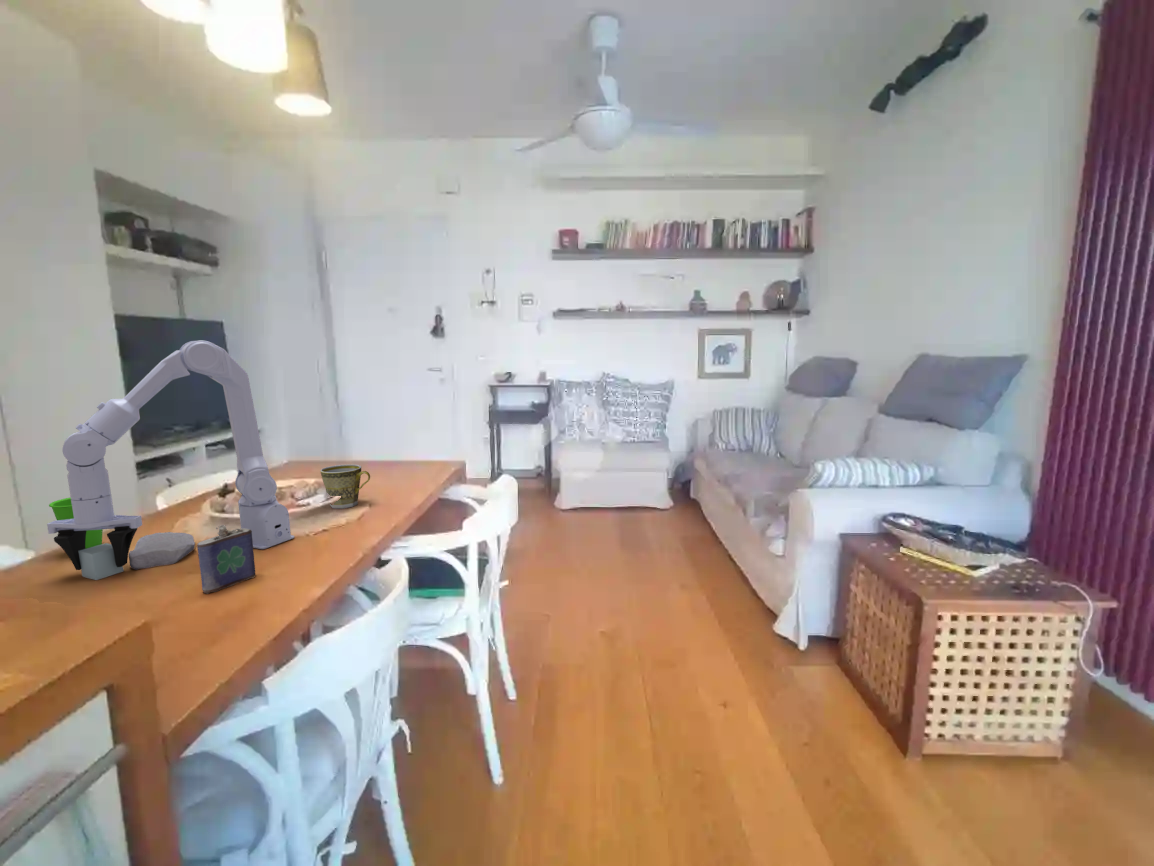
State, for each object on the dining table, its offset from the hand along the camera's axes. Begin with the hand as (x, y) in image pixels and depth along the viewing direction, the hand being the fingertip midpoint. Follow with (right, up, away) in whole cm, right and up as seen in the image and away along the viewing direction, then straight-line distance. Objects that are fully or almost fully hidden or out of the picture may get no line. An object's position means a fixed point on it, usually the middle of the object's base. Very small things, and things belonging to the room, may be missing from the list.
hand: (102, 566), depth 108 cm
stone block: (+6, -1, +9) cm, 11 cm away
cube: (0, -1, 0) cm, 1 cm away
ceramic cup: (+29, +6, +44) cm, 53 cm away
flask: (+27, -2, -5) cm, 28 cm away
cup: (-14, 0, +13) cm, 19 cm away
